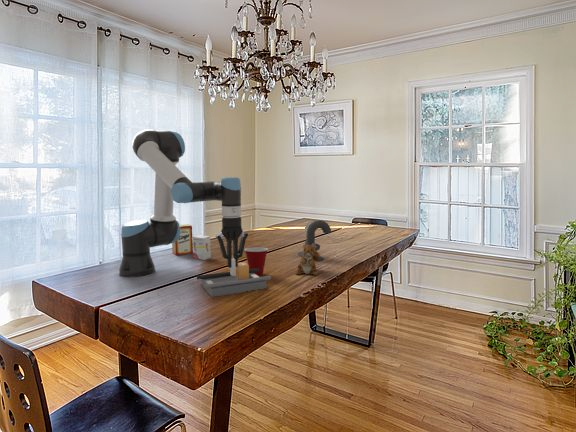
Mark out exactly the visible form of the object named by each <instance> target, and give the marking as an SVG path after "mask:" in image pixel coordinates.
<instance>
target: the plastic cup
mask: <svg viewBox="0 0 576 432" xmlns="http://www.w3.org/2000/svg"><path fill="white" fill-rule="evenodd" d="M243 251H244V252H245V256H246V260H247V261H246V263H247V264H248V265H249V269H254V268H259V272H253V273H255V274H256V275H258V276H259V275H260V276H263V274H264V269H265V264H266V259H267V253H268V251H269V248H267V247H246V248H244V250H243ZM260 276H259V277H260Z"/></svg>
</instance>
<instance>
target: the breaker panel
mask: <svg viewBox="0 0 576 432" xmlns="http://www.w3.org/2000/svg"><path fill="white" fill-rule="evenodd" d="M257 277H260V276H258V275H256V274H255V273H249V278H257ZM200 280H201V281H200V282H201V287H203V289H204V290H205V291H206V292H207V294H208V295H210V297H211V298H215V297H220V296H227V295H233V294H234V293H235V294H240V293H246V291H248V292H252V291H251V290H255V291H259V290H258V289H261V290H264V289H263V288H266V289H267V280H265V281H258V282H251V283H244V284H237V285H229V286H222V287H215V288H208V289H205V285H206V284H213V283H220V282H228V281H235V280H239V279H238V278H237V277H236V276H231V275H229V276H222V277H214V278H206V279H200Z"/></svg>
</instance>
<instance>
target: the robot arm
mask: <svg viewBox="0 0 576 432" xmlns="http://www.w3.org/2000/svg"><path fill="white" fill-rule="evenodd" d="M132 149H133V153H134V154H135V156H136V157H137V158H138V159H139V160H140V161H142V162H145V163H146V164H147V165H148V166H149V167H150V168H151V169H152V170H153V171H154V172H155V177H154V202H153V203H154V205H153V214H152V215H151V216H150V220H149V221H148V220H146V219H139V220H132V221H128V222H126V223H124V224H123V225H122V226H121V230H120V231H121V233H120V236H121V247H122V248H121V249H122V251H121V252H122V258H121V263H120V265H119V275H120V276H122V277H129V276H133V277H142V276H147V275H151V274H153V273H155V271H156V269H155V268H156V267H155V263H154V261H153V258H152V256H151V248H155V247H160V246H161V247H162V246H168V245H170V244H171V245H172V243H174V242H176V241H177V240H178V238H179V236H180V231H181V229H180V226H179V225H180V223H179V221H177V218H176V216H175V215H174V203H176V204H189V203H197V202H211V201H213V202H214V201H218V202H219V201H220V202H221V216H222V217H221V227H222V228H221V230H220V233H218V234H215V239H217V241H218V243H219V248H220V252H221V255H222V258H223V259H224V260H227V267H228V268H229V272H230V275H231V276H236V267H237V266H238V263H239V258H242V257H243V253H244V251H245V250H244V249H245V245H246V241H247V238H248V236H249V234H248V233H247V232H246V231H244V230H243V227H242V217H241V216H242V195H241V194H242V184H241V178H240V177H237V176H234V177H232V176H229V177H228V176H226V177H225V176H224V177H221V178H220V179H221V180H220V181H204V182H203V181H202V182H199V181H198V182H192V180H190V179H189V178H188V177H187V176H186V174H184V173H183V172H182V170H180V169H179V167H178V166H177V164H179V162H180V158H182V157H183V156H184V154H185V152H186V143H185V141H184V138H183V137H182V135H181V134H180V133H178V132H177V131H172V130H171V131H170V130H160V129H159V130H157V129H156V130H155V129H148V128H147V129H143V130H141V131H139V132H137V133H136V134H135V136H134V138H133V139H132ZM223 237H224V238H223ZM239 238H240V242H239ZM223 239H225V240H226V247H225V243H224V241H223Z"/></svg>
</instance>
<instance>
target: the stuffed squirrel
mask: <svg viewBox="0 0 576 432" xmlns="http://www.w3.org/2000/svg"><path fill="white" fill-rule="evenodd" d="M301 246H302V249H303V251H302V252H303V255H304V256H302V257H301V258H300V260H299V261H300V262H299V264H298V265H297V266H296V267H297V269H296V270H295V273H294V275H297V274H298V275H301V274H302V273H303V274H304V273H305V274H306V275H309V274H310V275H312V274H313V276H318V269H317V266H316V262H318V261H317V260H318V259H319V257H320V256H321V255H320V252H318V251H319V250H317V251H316V250H315V248H316V247H317V246H312V245H305V244H302V245H301ZM315 261H316V262H315ZM305 274H304V275H305Z"/></svg>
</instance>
